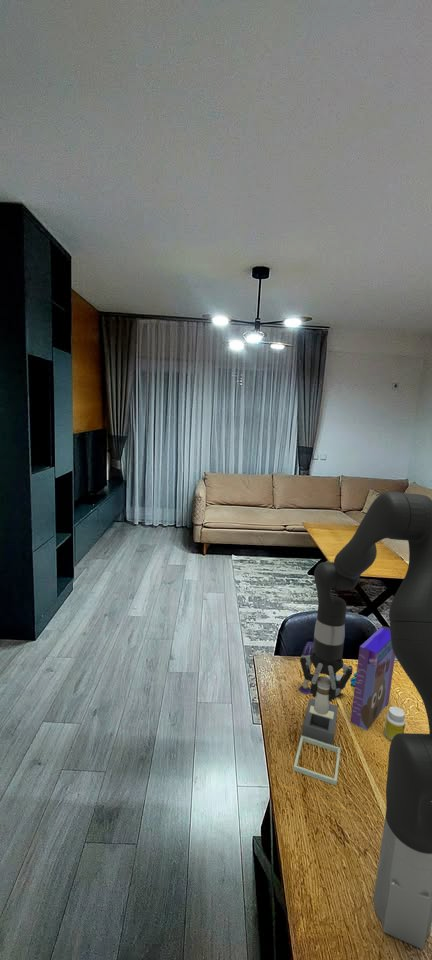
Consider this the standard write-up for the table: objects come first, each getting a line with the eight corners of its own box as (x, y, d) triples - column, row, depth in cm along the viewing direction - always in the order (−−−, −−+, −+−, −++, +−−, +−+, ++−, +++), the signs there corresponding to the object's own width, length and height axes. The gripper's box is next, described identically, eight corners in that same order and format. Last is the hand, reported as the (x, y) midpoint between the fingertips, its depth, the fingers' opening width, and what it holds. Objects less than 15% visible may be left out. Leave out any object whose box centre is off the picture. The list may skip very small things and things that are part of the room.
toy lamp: (313, 690, 133) (319, 641, 131) (313, 699, 128) (318, 649, 126) (298, 687, 134) (303, 638, 132) (297, 696, 130) (302, 646, 127)
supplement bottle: (404, 747, 112) (408, 719, 110) (385, 744, 112) (389, 715, 111) (400, 734, 116) (404, 707, 115) (382, 731, 117) (385, 703, 116)
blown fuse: (327, 716, 110) (330, 686, 109) (313, 712, 111) (316, 682, 110) (328, 707, 114) (332, 678, 113) (314, 703, 115) (317, 674, 114)
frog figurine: (342, 704, 127) (345, 683, 126) (319, 696, 130) (321, 676, 129) (346, 693, 132) (348, 673, 131) (323, 686, 136) (326, 666, 135)
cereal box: (366, 734, 116) (377, 653, 112) (350, 725, 119) (359, 646, 115) (388, 704, 129) (398, 630, 125) (372, 696, 132) (382, 625, 128)
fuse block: (332, 748, 110) (336, 715, 108) (301, 738, 113) (305, 706, 111) (336, 718, 121) (340, 688, 119) (308, 710, 124) (311, 680, 122)
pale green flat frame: (335, 789, 97) (336, 781, 97) (292, 773, 101) (293, 766, 101) (339, 754, 108) (340, 747, 107) (300, 742, 111) (301, 735, 111)
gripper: (299, 636, 109) (293, 698, 111) (356, 650, 104) (349, 714, 106) (303, 624, 116) (298, 682, 118) (358, 636, 111) (351, 696, 113)
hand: (322, 697), depth 112 cm, fingers closed on blown fuse, 3 cm apart
